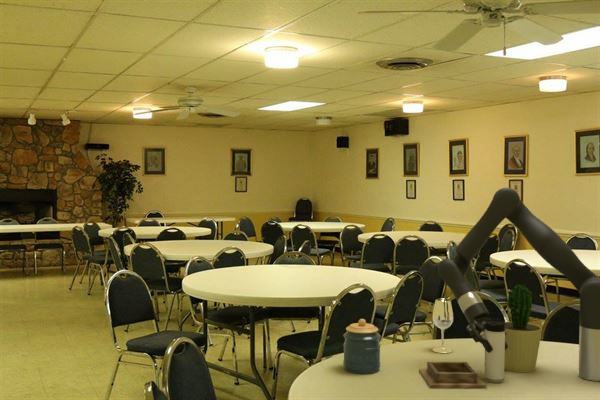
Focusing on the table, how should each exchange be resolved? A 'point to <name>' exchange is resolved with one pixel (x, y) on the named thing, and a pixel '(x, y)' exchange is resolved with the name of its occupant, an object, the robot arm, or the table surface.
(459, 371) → the square wooden tray
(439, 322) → the wineglass
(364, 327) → the canister
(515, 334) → the potted cactus
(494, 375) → the travel mug
